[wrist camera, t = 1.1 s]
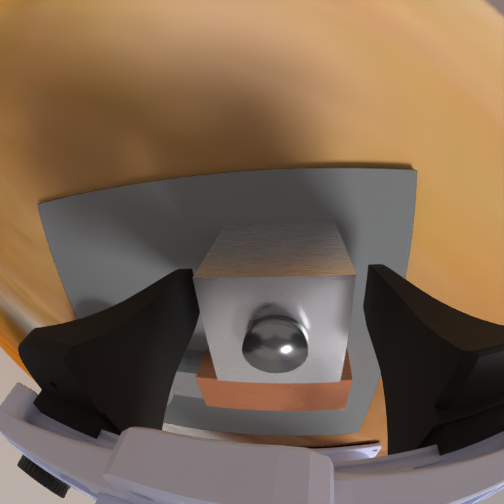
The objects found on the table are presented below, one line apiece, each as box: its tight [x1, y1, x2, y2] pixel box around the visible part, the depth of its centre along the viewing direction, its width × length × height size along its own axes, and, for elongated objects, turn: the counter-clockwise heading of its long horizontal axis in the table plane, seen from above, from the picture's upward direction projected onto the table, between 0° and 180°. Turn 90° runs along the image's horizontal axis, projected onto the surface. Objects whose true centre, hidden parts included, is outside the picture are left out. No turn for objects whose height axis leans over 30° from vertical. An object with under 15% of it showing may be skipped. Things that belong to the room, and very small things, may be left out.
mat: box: [37, 167, 417, 436], centre depth 16 cm, size 20×20×1 cm
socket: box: [193, 221, 356, 383], centre depth 10 cm, size 5×5×5 cm
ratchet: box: [167, 349, 353, 411], centre depth 14 cm, size 7×17×4 cm, turn 95°
